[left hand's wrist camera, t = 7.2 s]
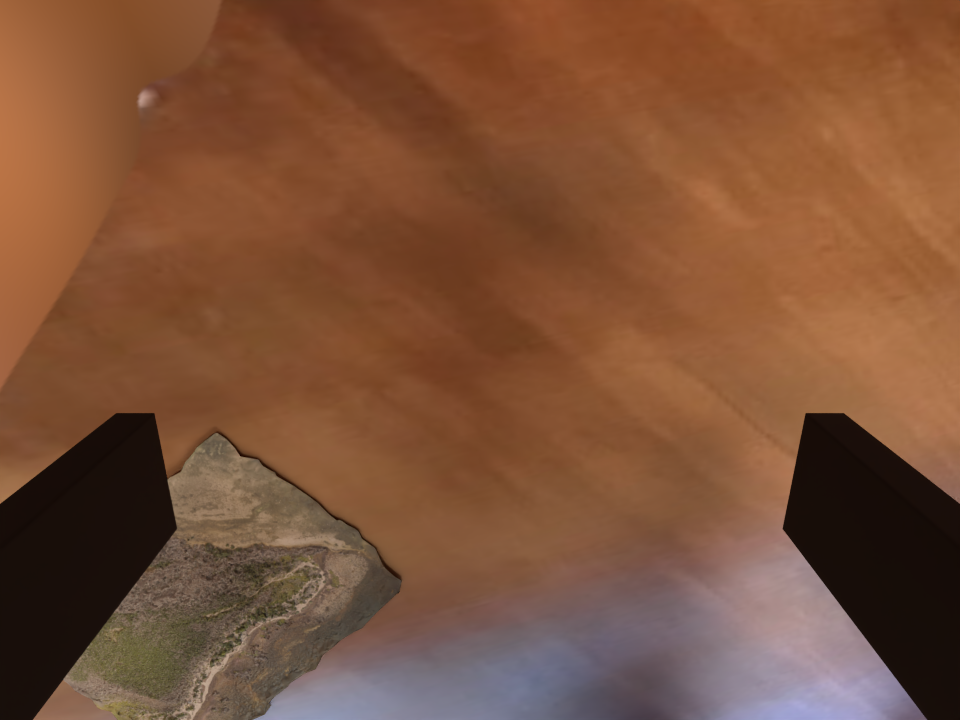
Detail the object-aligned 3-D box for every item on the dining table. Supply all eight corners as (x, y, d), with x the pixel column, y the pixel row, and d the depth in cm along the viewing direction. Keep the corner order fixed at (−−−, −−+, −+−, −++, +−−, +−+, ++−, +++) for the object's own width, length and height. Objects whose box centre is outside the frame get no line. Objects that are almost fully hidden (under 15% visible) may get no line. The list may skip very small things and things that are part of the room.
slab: (214, 768, 55) (210, 778, 54) (5, 650, 50) (-3, 660, 49) (418, 573, 48) (417, 582, 47) (196, 415, 43) (190, 421, 42)
